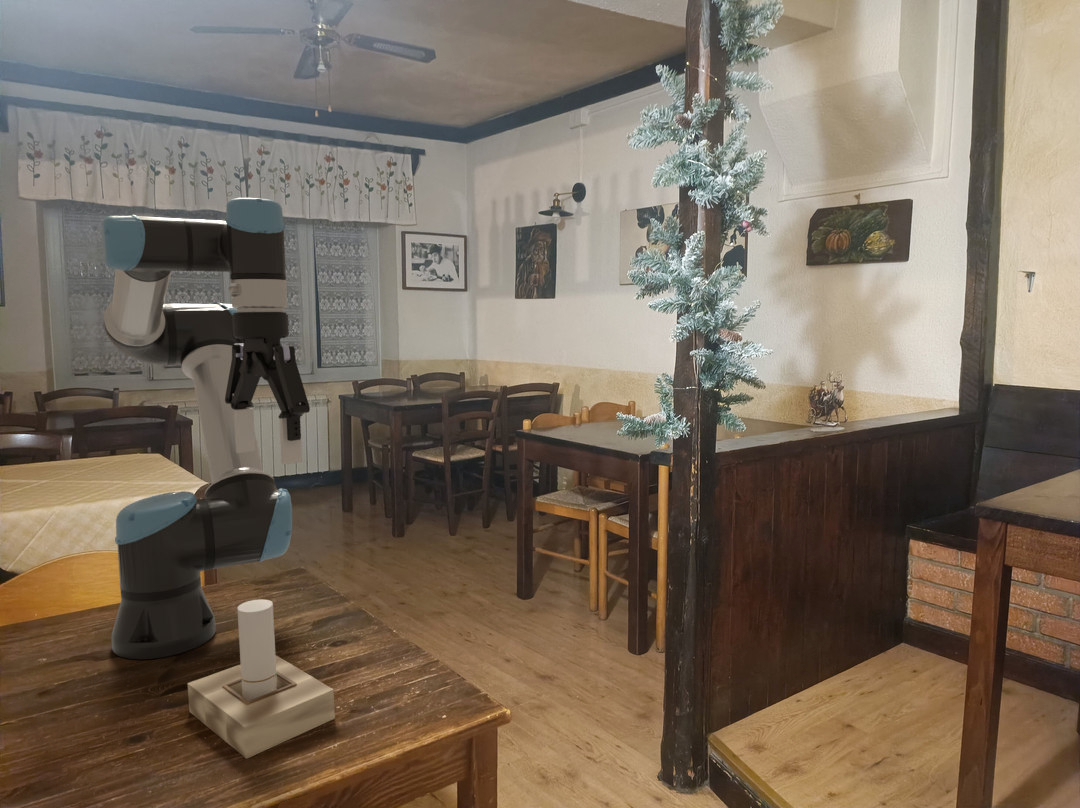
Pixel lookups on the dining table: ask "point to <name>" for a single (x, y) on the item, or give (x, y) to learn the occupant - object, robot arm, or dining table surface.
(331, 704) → the socket board
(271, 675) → the tube
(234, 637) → the dining table surface
